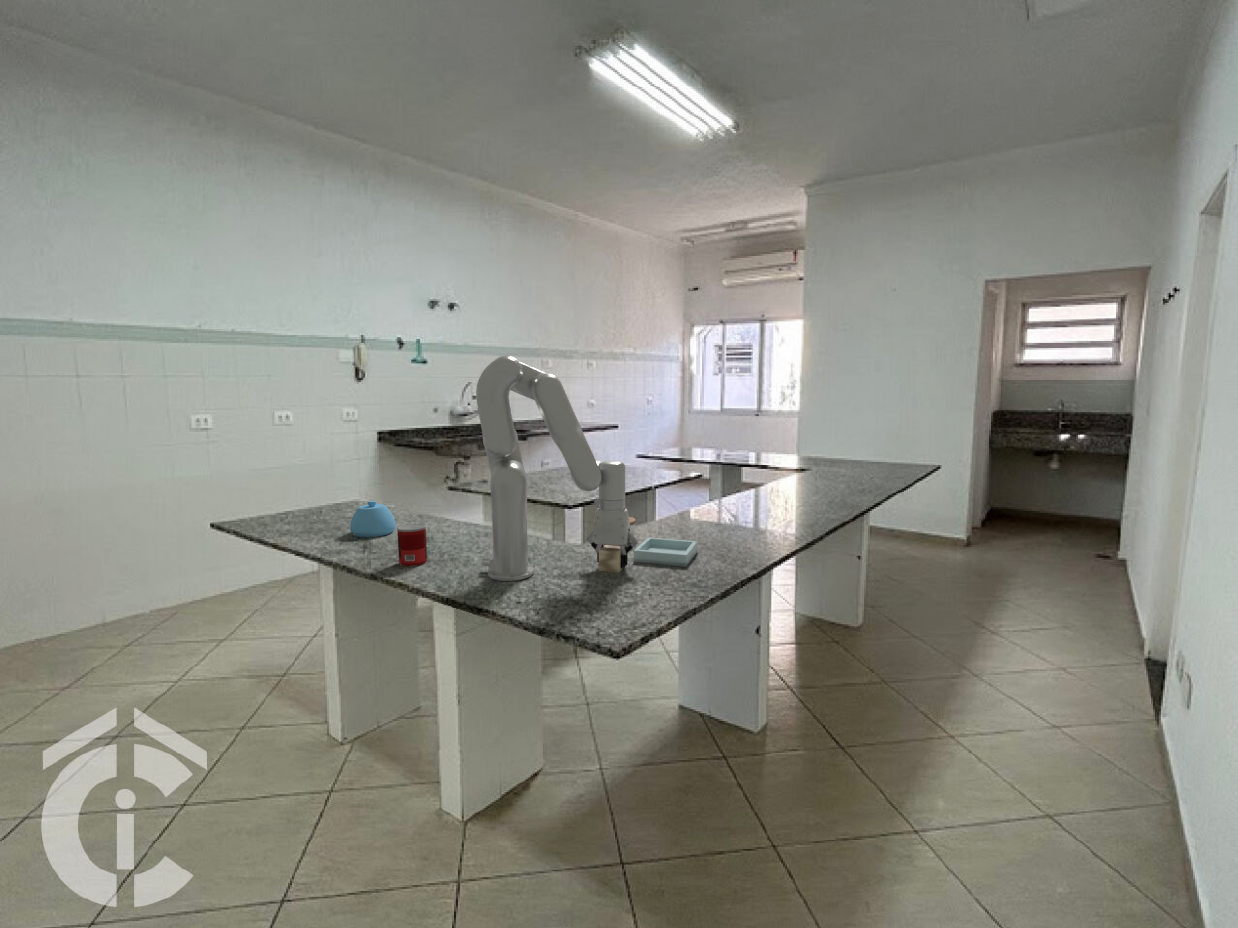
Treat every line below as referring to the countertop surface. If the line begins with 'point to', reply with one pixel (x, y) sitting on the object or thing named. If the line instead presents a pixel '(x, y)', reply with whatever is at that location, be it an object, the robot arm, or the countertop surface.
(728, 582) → the countertop surface
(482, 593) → the countertop surface
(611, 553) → the birch block
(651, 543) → the teal tray
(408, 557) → the canned food
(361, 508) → the sugar bowl
